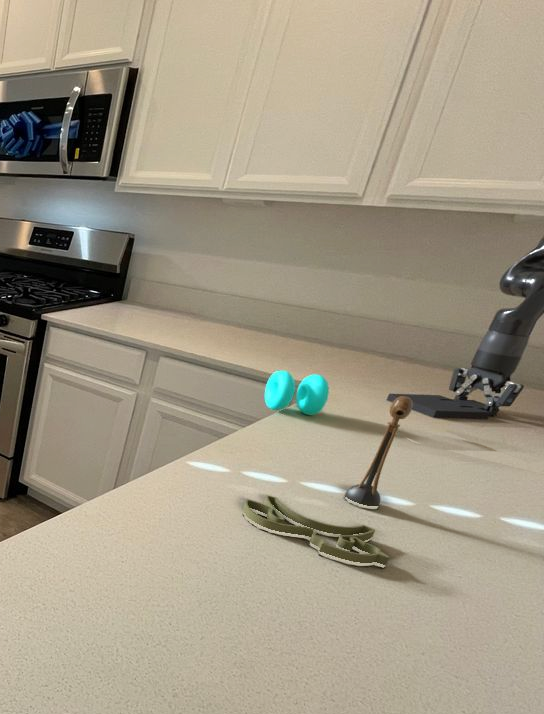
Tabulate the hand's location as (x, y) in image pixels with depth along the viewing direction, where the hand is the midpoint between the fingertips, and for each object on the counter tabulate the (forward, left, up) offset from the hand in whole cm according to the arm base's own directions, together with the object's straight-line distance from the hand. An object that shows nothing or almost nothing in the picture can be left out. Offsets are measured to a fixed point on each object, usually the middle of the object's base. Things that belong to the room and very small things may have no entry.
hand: (470, 414), depth 148 cm
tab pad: (+2, 0, -1) cm, 2 cm away
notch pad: (+10, 0, -1) cm, 10 cm away
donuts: (+48, 0, -1) cm, 48 cm away
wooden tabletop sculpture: (+72, +45, -1) cm, 85 cm away
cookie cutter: (+90, +55, -1) cm, 106 cm away
